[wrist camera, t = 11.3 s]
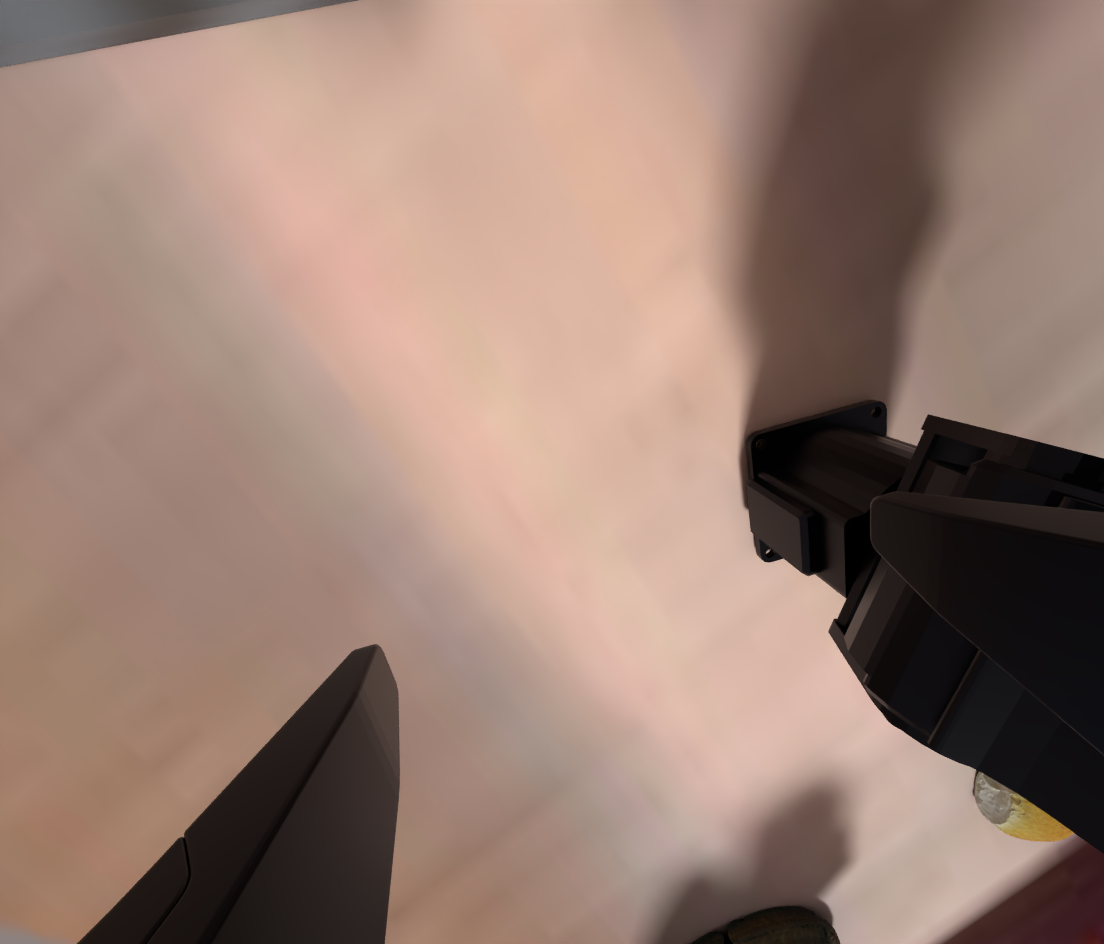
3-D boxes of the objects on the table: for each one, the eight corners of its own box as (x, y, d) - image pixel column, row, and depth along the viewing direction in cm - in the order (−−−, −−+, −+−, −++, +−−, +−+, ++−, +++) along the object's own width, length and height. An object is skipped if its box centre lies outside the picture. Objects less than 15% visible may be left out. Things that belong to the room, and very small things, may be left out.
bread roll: (1074, 787, 36) (1144, 843, 33) (960, 818, 35) (1020, 880, 32) (1103, 694, 34) (1184, 744, 30) (981, 725, 32) (1049, 781, 29)
